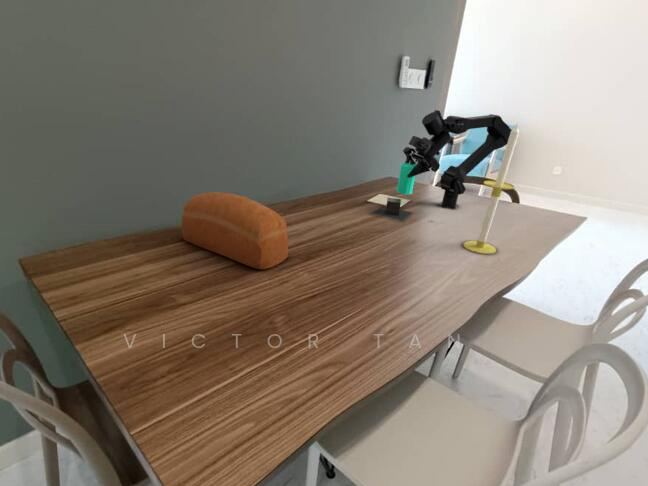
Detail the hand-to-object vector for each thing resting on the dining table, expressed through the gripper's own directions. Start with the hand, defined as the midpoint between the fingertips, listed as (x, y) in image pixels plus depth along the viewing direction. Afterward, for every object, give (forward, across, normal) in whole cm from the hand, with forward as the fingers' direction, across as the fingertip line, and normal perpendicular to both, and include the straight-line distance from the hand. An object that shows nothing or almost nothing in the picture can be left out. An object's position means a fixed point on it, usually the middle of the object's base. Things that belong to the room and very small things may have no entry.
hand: (404, 175), depth 151 cm
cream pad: (+9, -10, +10) cm, 17 cm away
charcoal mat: (+14, +5, +5) cm, 15 cm away
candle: (+4, 0, +6) cm, 7 cm away
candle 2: (+5, +40, +15) cm, 43 cm away
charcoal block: (+13, +5, +5) cm, 15 cm away
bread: (+58, +27, -40) cm, 76 cm away
